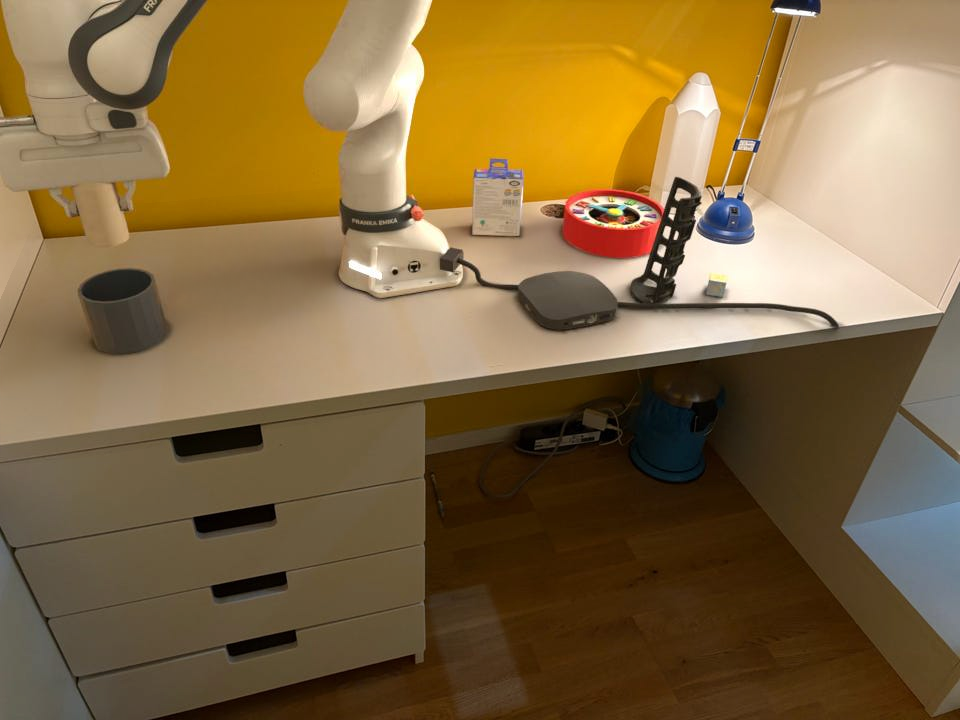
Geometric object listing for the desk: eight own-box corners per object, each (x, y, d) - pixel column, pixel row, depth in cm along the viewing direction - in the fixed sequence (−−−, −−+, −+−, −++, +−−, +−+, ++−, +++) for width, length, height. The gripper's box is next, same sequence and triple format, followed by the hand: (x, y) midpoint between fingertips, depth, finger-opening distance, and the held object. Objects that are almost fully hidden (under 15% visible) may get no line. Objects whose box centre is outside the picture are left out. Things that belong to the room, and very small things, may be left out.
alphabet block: (705, 294, 130) (708, 279, 128) (707, 286, 132) (710, 271, 130) (723, 298, 129) (726, 282, 127) (724, 290, 131) (728, 275, 129)
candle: (114, 250, 101) (95, 181, 95) (79, 245, 102) (57, 177, 96) (137, 233, 106) (120, 166, 100) (103, 229, 106) (84, 162, 101)
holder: (622, 277, 133) (651, 173, 122) (661, 280, 134) (693, 177, 123) (637, 308, 124) (670, 200, 113) (679, 311, 126) (716, 204, 114)
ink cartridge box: (519, 225, 151) (524, 157, 143) (520, 237, 147) (525, 167, 138) (472, 224, 151) (474, 155, 143) (471, 235, 147) (473, 165, 138)
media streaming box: (583, 279, 133) (585, 265, 131) (624, 320, 122) (627, 304, 120) (510, 292, 128) (511, 277, 126) (545, 335, 117) (547, 319, 115)
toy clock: (638, 239, 134) (546, 211, 143) (634, 267, 137) (543, 238, 146) (682, 205, 147) (594, 181, 157) (676, 232, 151) (591, 207, 160)
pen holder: (172, 315, 119) (160, 266, 114) (161, 351, 110) (147, 300, 105) (103, 319, 117) (87, 270, 112) (86, 357, 109) (68, 305, 104)
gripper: (-25, 126, 88) (14, 231, 96) (156, 113, 94) (178, 213, 102) (-17, 111, 93) (20, 212, 101) (156, 99, 99) (177, 196, 107)
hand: (101, 212), depth 101 cm, fingers closed on candle, 5 cm apart
